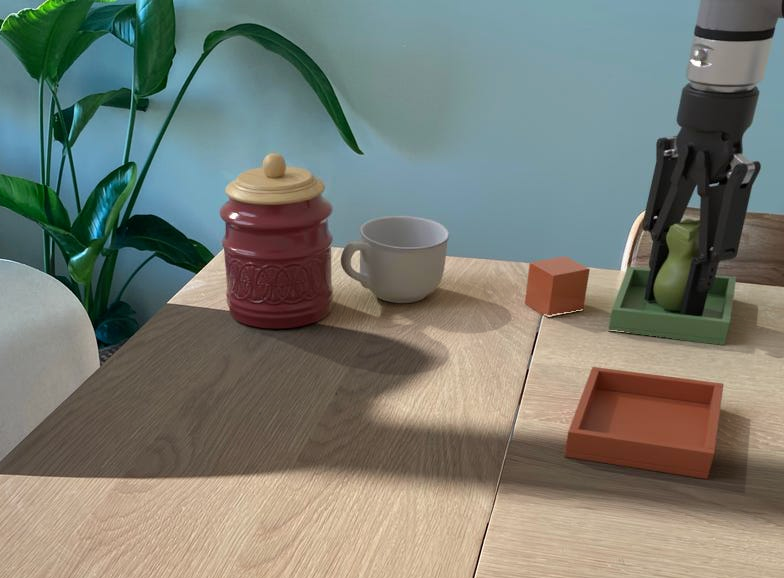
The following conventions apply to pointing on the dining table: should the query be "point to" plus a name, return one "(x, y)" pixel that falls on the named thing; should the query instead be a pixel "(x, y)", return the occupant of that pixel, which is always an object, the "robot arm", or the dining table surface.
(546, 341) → the dining table surface
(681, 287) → the pear
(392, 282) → the teacup
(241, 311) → the kitchen canister
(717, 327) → the green tray
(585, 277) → the block
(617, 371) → the terracotta tray
